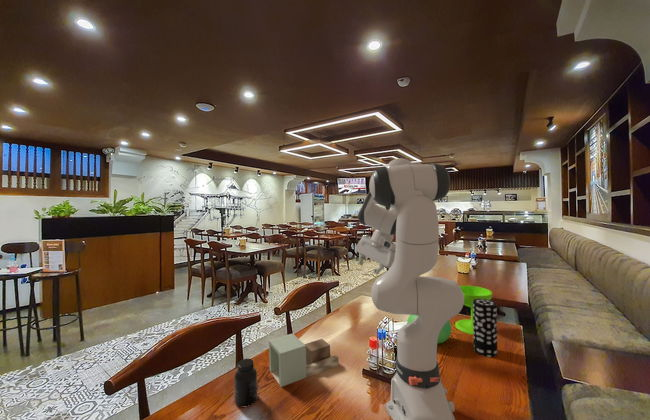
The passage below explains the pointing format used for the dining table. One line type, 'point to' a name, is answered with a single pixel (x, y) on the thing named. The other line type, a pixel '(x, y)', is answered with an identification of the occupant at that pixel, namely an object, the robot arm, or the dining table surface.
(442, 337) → the gravy boat
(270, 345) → the pale sage box
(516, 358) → the dining table surface
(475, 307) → the white-spotted black cylinder
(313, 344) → the block
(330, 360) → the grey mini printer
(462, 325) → the wineglass
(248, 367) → the supplement bottle
